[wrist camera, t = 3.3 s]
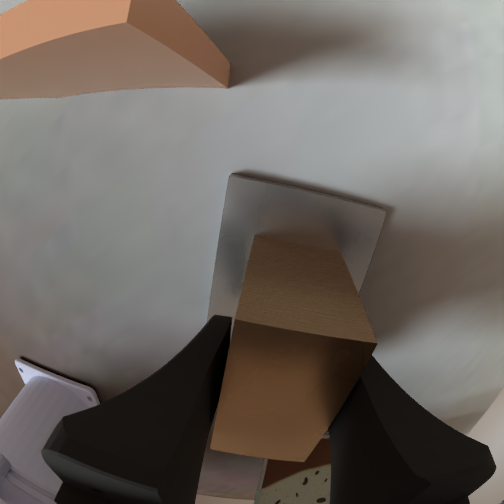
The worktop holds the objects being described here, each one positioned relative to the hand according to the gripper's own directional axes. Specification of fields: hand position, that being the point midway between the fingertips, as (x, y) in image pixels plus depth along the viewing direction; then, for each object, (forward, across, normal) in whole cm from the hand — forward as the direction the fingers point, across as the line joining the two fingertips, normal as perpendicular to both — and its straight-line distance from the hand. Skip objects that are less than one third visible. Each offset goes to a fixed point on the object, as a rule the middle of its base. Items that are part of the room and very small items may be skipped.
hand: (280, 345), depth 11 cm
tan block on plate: (+3, 0, 0) cm, 3 cm away
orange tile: (+3, +7, -9) cm, 12 cm away
